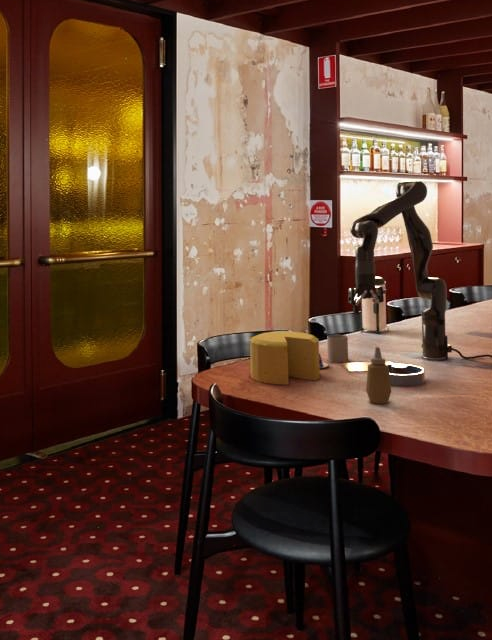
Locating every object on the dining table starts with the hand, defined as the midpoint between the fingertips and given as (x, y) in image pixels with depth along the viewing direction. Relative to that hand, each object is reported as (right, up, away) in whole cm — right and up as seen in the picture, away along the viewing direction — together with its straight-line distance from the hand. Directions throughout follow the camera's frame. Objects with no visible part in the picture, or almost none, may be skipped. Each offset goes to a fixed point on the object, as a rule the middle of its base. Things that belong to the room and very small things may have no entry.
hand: (366, 314), depth 277 cm
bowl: (+9, -22, -15) cm, 28 cm away
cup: (-6, -23, +22) cm, 33 cm away
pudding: (-18, -23, +12) cm, 32 cm away
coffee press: (+25, -23, +87) cm, 93 cm away
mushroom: (+9, -22, -15) cm, 28 cm away
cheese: (-31, -23, -2) cm, 39 cm away
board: (+4, -22, +6) cm, 24 cm away
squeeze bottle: (-6, -23, -40) cm, 46 cm away
